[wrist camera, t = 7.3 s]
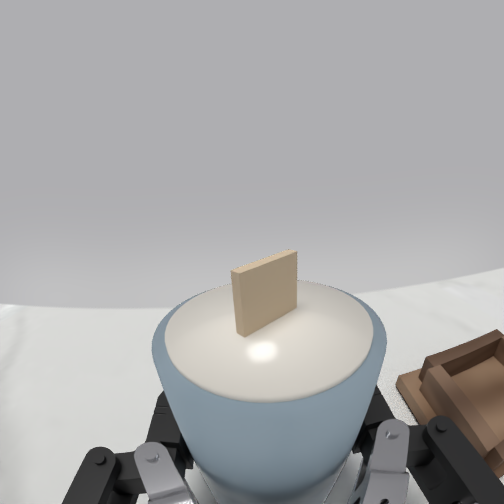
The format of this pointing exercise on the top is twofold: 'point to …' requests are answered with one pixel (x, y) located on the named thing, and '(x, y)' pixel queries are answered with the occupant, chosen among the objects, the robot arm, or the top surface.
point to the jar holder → (464, 393)
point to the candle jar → (270, 381)
